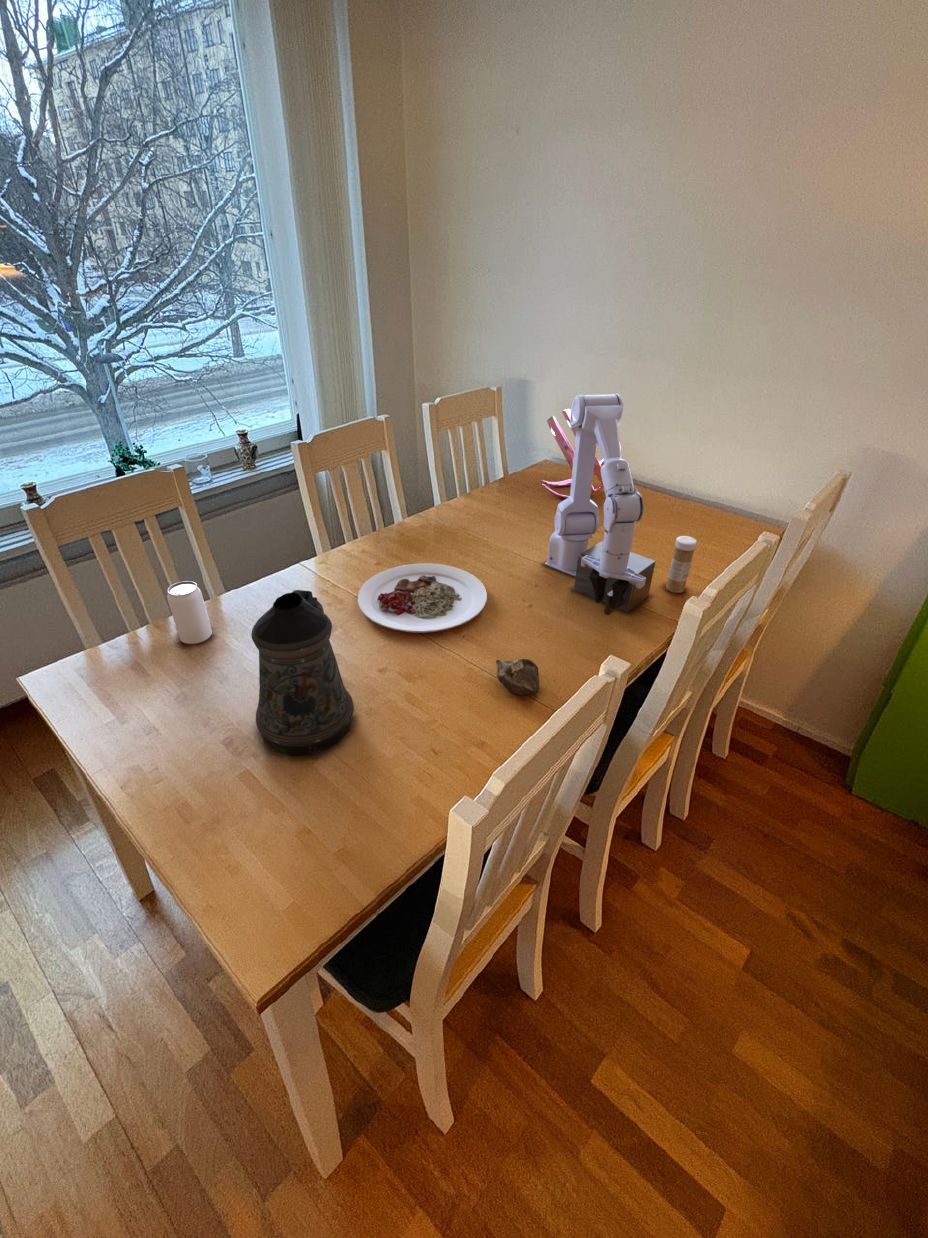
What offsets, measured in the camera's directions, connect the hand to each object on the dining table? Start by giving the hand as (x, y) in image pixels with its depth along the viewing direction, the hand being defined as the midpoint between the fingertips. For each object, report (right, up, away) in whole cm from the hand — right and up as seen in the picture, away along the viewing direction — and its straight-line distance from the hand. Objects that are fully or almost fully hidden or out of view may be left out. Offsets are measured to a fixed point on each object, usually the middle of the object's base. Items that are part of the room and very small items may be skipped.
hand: (606, 604), depth 131 cm
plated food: (-41, +1, +8) cm, 42 cm away
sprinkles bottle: (+20, +4, +14) cm, 25 cm away
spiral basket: (+6, +38, +65) cm, 76 cm away
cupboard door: (-2, 0, +7) cm, 7 cm away
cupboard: (+4, +3, +12) cm, 13 cm away
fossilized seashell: (-21, -16, -17) cm, 32 cm away
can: (-89, -7, -5) cm, 89 cm away
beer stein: (-60, -21, -25) cm, 68 cm away
